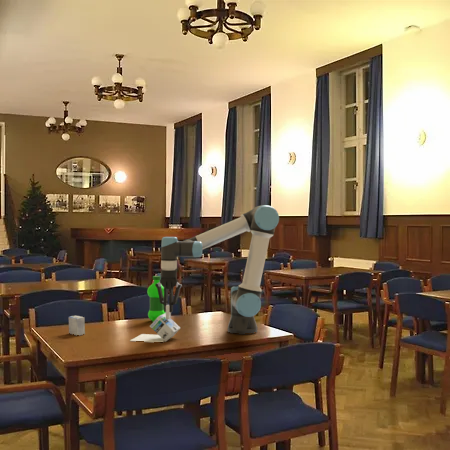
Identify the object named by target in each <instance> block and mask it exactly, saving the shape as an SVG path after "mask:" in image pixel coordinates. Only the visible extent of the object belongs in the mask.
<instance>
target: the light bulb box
mask: <svg viewBox="0 0 450 450" xmlns="http://www.w3.org/2000/svg"><path fill="white" fill-rule="evenodd" d="M149 327H150V328H151V329H152V330H153V331H154V332H155V333H156V335H159V336H160V337H161V338H162V339H163V340H164V342H167V341H169V340H170V339H172V338H174V336H175V335H176V334H177V333H178V332H179V331H180V329H181V326H179V325H178V324H177V323H176V322H175V321H174V319H172V318H171V319H166V312H165V313H164V314H162V315H161V316H158V317H157V318H156V320H155V321H154V322H152V323H151V324H150V325H149Z"/></svg>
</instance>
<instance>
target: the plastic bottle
mask: <svg viewBox="0 0 450 450" xmlns="http://www.w3.org/2000/svg"><path fill="white" fill-rule="evenodd" d="M152 280H153V282H152V283H151V285H149V286H148V287H147V291H146V293H147V295H148V297H149V310H148V312H147V316H148V318H149V320H150V321H151V322H152V323H153V322H154V321H155V320H156V318H157V317H158V316H161V315H162V314H164V313H166V312H164V305H163V304H161V303H160V299H159V295H158V290H157V287H156V286H155V284H157V283H159V282H160V280H161V275H153V276H152ZM161 288H162V293H163V298H164V288H163V286H162V285H161Z"/></svg>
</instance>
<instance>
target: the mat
mask: <svg viewBox="0 0 450 450" xmlns="http://www.w3.org/2000/svg"><path fill="white" fill-rule="evenodd" d="M136 341H144V342H143V343H154V342H163V343H164V342H165V341H164V340H163V339H162V338H161V337H160V336H159V335H158V334H152V333H150V334H148V333H147V334H146V333H141V334H139V335H138V336H136V337H134V338H132V339H130V340H129V342H136Z"/></svg>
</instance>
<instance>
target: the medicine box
mask: <svg viewBox="0 0 450 450" xmlns="http://www.w3.org/2000/svg"><path fill="white" fill-rule="evenodd" d="M85 322H86V321H85V316H84V317H83V316H80V315H71V316H68V334H69V333H70V334H69V335H73V334H74V336H77V335H79V336H84V335H86V331H85V330H86V329H85V327H86V325H85ZM83 334H84V335H83Z"/></svg>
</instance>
